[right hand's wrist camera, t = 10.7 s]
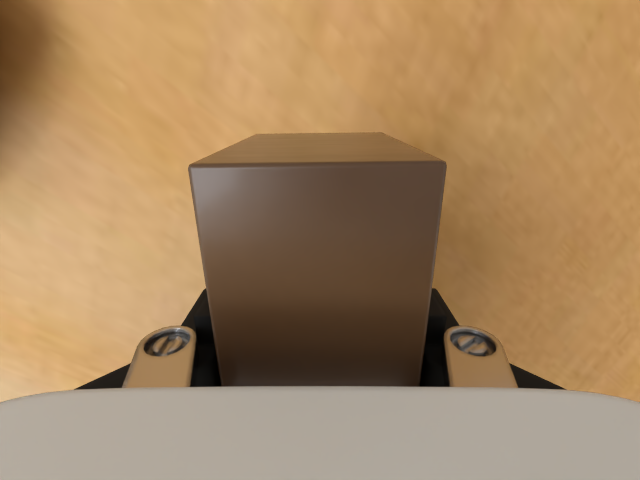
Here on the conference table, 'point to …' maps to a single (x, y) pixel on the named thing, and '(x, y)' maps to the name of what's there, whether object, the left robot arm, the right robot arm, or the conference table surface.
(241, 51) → the conference table surface
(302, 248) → the bar
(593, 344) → the conference table surface
